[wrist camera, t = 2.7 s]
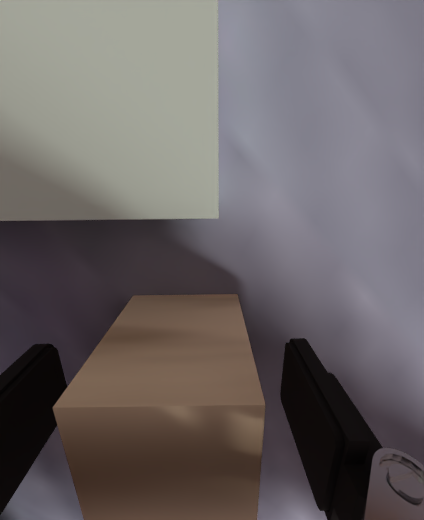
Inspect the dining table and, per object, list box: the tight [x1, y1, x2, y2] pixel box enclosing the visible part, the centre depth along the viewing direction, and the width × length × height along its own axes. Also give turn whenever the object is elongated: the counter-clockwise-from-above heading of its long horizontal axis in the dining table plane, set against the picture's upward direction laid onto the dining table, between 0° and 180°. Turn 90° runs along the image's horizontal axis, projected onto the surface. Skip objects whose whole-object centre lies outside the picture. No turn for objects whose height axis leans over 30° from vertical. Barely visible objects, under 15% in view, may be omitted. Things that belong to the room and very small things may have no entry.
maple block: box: [53, 294, 265, 520], centre depth 9 cm, size 5×5×6 cm
